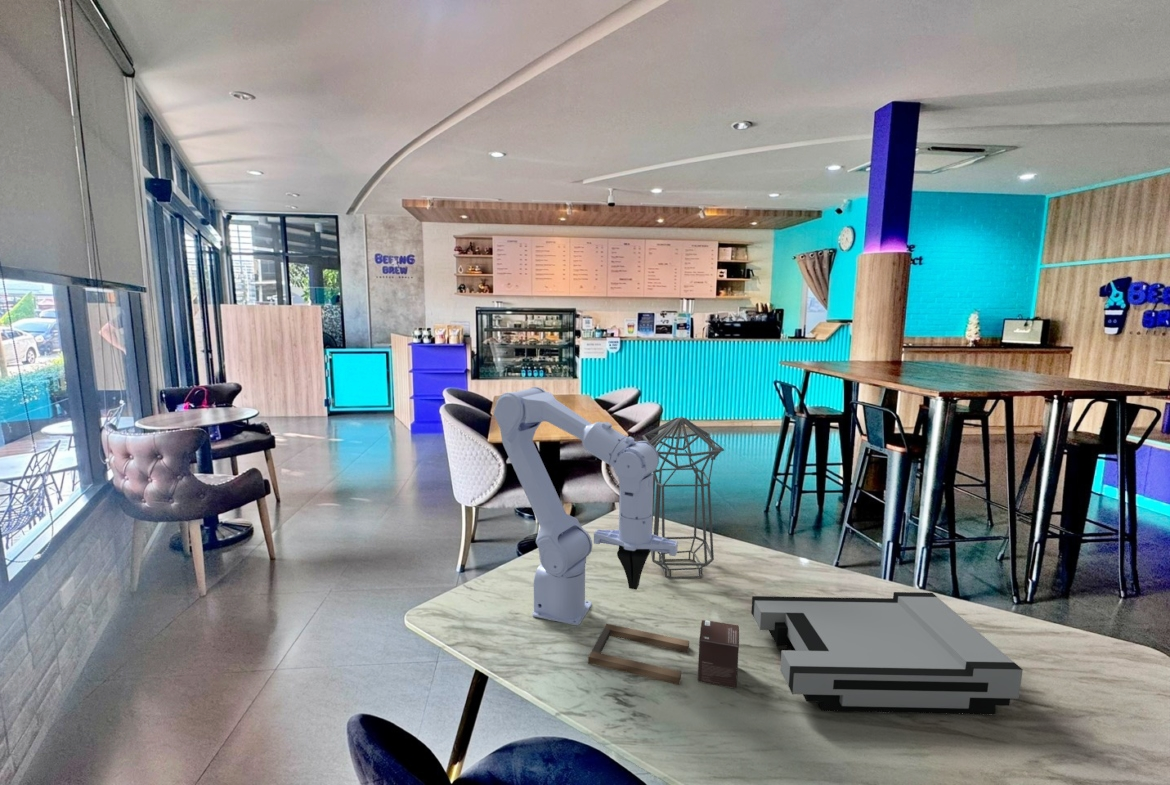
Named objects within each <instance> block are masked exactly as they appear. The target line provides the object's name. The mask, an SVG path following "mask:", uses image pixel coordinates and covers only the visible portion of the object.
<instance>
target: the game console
mask: <svg viewBox="0 0 1170 785" xmlns="http://www.w3.org/2000/svg"><path fill="white" fill-rule="evenodd" d="M751 615H752V618H753V619H754V621H755V623H756V626H757V627H758V629H759V631H768V632H769V634H770V636H771V638H772V640H773V642H774V644H775V645H776V647H786V648H787V650H785V649H784V650H783V649H782V650H781V652H780V653H781V654H780V655H781V656H780V667H779V668H780V670H779V671H780V673H781V674H782V676H783V678H784V680H785V682H786V684H787V686H788V688H789V690H790V692H791V694H792V695H802V696H803V698H804V700H805V701H806V702H807V703H818V705H819V707H820V708H821V711H822V712H833V713H834V712H839V713H841V712H842V713H844V712H845V713H847V712H848V713H883V712H884V713H885V712H886V713H885V714H887V713H888V712H889V713H892V714H893V713H894V714H898V713H899V714H931V715H933V714H936V715H939V714H943V715H945V714H946V713H947V714H946V715H948V714H949V715H982V716H985V715H987V714H988V715H989V714H992V715H991V716H995V715H996V708H997V706H1007V707H1008V706H1010V703H1011V699H1019V696H1020V691H1021V684H1022V677H1023V671H1024V670H1023V668H1022V667H1021V666H1020V665H1018V664H1017V663H1016V662H1015V661H1014V660H1012V659H1011V658H1010V657H1009V656H1007V655H1006V654H1005V653H1004V652H1003V651H1002V650H1000V649H999V648H998V647H997V646H996V645H994V644H993V643H992V642H991V641H990V640H989V639H988V638H987V637H985V636H984V635H982V634H981V632H979V631H978V630H977V629H976V628H974V627H973V626H972V625H971V624H970V623H969V622H968V621H967V620H965V619H964V618H963V617H961V615H959V614H958V613H957V612H956V611H955V610H953V609H952V608H951V607H950V606H948V604H947V603H945V602H944V601H943V600H942V599H941V598H940V597H938V596H937V595H936V594H934V593H933V592H919V591H918V592H917V591H916V592H915V591H911V592H910V591H907V592H905V591H902V592H901V591H894V592H893V597H892V598H891V597H890V598H889V597H887V598H886V597H881V598H879V597H838V596H836V597H833V596H832V597H827V596H826V597H825V596H821V597H820V596H773V595H772V596H765V595H764V596H763V595H752V596H751ZM889 713H888V714H889ZM959 713H960V714H959ZM962 713H963V714H962ZM983 714H984V715H983ZM994 714H995V715H994ZM989 716H990V715H989Z"/></svg>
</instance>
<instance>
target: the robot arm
mask: <svg viewBox="0 0 1170 785" xmlns="http://www.w3.org/2000/svg"><path fill="white" fill-rule="evenodd" d="M493 416H494V419H495V420H496V422H497V425H498V427H499V429H500V436H501V437H500V438H501V442H502V445H503V448H504V450H505V452H506V454H507V456H508V459H509V460H510V463H511V465H512V467H513V470H514V472H515V474H516V476H517V479H518V481H519V483H520V485H521V487H522V490H523V491H524V494H525V495H526V498H527V500H528V503H529V505H530V507H531V509H532V511H533V513H534V515H535V517H536V520H537V522H538V525H539V530H538V533H537V536H536V538H535V544H536V546H537V548H538V553H539V560H540V561H539V562H540V564H539V565H538V567H537V568H536V571H535V574H534V579H533V612H532V614H531V615H532V617H535V618H538V619H539V618H540V619H543V620H544V619H545V620H549V621H554V622H559V623H563V624H567V625H568V624H569V625H573V626H579V625H580V624H581V623H582V621H583V619H584V618H585V616H586V614H587V613H588V611H589V610H590V609H591V607H592V606H593V602H591V601H590V600H589V601H588V600H586V564H587V557H588V556H589V555H590V554H591V552H592V551H593V544H595V545H600V544H606V545H612V546H618V550H617V552H616V554H617V555H616V556H617V558H618V560H619V562H620V563H621V566H622V568H623V570H624V573H625V576H626V579H627V585H628V589H629V590H637V589H638V588H639V586H640V581H641V576H642V573H643V569H644V566H645V564H646V562H647V560H648V557H649V555H650V554H651V551H655V553H658V552H660V553H661V552H662V553H668V554H667V555H669V556H671V557H676V556H677V554H678V553H677V551H678V544H679V542H678V540H674V539H666V538H663V537H662V536H659V535H658V536H656V535H654V533H653V525H652V508H653V472H654V471H655V470H656V469H658V466H659V465H660V464H659V463H660V457H659V455H658V452H659V451H658V452H657V448H654V447H653V446H654V445H650V444H649V442H647V441H644V440H639V441H635V438H634V437H632V436H626V435H624V434H623V433H621V432H620V431H618V430H616V429H614V428H613V424H612V423H610V422H608V421H604V422H602V421H596V422H594V423H591V422H590V421H589V420H587V419H585V418H584V417H583V416H581V415H580V414H578V413H576V412H575V411H573V410H572V409H571V408H570V407H568V406H566V405H564V404H563V403H562V402H560V401H559V400H557V399H556V398H555V396H554V395H553V393H551V392H549V391H546V390H544V389H543V388H541V387H539V386H533V387H530V388H527V389H523V390H518V391H512V392H503V393H502V394H501V395H500V396H499V397H498V398H497V401H496V404H495V406H494V410H493ZM543 422H547V423H549V424H550V425H553V426H555V427H557V428H559V429H560V430H562V431H564V432H566V433H568V434H570V435H572V436H573V437H576V438H578V439H579V440H581V444H582V448H583V449H584V450H585V451H586V452H588V453H590V454H591V455H593V456H594V457H595V458H597V459H599V460H601V461H602V462H604V463H606V464H608V466H611V467H612V468H613V471H614V473H615V475H616V476H617V479H618V481H619V482H618V485H619V486H618V487H619V495H618V496H619V497H618V498H619V499H618V500H619V502H618V503H619V504H618V505H619V506H618V529H598V528H597V529H596V530H595V532H593V540H592V538H591V536H590V534H589V533H588V532H587V530H585V529H584V527H583V526H582V525H581V524H580V521H579V519H577V518H576V517H574V516H572V515H570V514H568V513H567V512H566V510H565V507H564V505H563V504H562V502H561V499H560V497H559V495H558V493H557V491H556V488H555V486H554V484H553V481H552V480H551V477H550V474H549V473H548V471H547V469H546V467H545V465H544V462H543V460H542V458H541V456H540V454H539V452H538V449H537V448H536V445H535V442H534V436H535V434H536V431H537V429H538V428H539V427H540V425H541V424H542V423H543ZM653 509H654V508H653Z"/></svg>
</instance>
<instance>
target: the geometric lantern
mask: <svg viewBox="0 0 1170 785" xmlns="http://www.w3.org/2000/svg"><path fill="white" fill-rule="evenodd" d="M686 427H687V428H689V430H691V431H692V432H693V433H690V434H687V429H686ZM661 430H662V431H661ZM659 431H660V432H659ZM677 431H678V432H677ZM682 431H683V434H684V435H682V436H681V432H682ZM657 432H659V433H657ZM655 433H657V434H655ZM676 434H677V436H676ZM647 436H648V437H649V438H651V440H649V439H648V438H647ZM690 437H694V438H692V440H690V441H689V438H690ZM641 438H642V439H643V440H642V441H647V442H649V444H650V445H652V446H653V447H654V448H655V449H656V451H657V452H658V455H659V459H661V460H662V463H661V465H660V467H659V469H658V468H656V470H655V471H654V472H652V474H653V508H652V526H653V535H656V536H659V529H660V528H659V527H660V514H661V537H663V538H666V539H669V540H692V543H691V546H690V550H681V551H680V550H679V551H678V550H677V554H682V553H683V554H684V553H688V558H666V555H669V554H668V553H662V552H657V554H658V560H656V552H655V551H651V552H650V555H651V556H650V557H651V562H652V563H654V564H656V565H658V567H660V568H661V570H662V572H663V575H664V577H665V578H669V579H695V578H696V579H699V578H700V579H701V578H702V577H703V572H704V571H703V568H705V567H707V566H709V565H710V564H711V563H712V562H713V561H714V560H715V557H714V541H713V540H714V538H713V518H712V502H711V501H712V500H711V499H712V498H711V484H712V483H711V478H712V477H711V476H712V470H713V464H714V461H715V460H716V457H718V456H719V454H720V453H721V452H724V451H725V449H724V447H722V446H720V444H719V443H717V442H716V441H715V440H713V439H712V437H711V435H710V433H709V432H707V431H706V430H703V429H702V428H700V427H699V426H697V425H696V424H695V423H692V422H691V421H690V420H689V418H686V417H684V416H683V417H682V416H680V417H675V418H672V419H671V420H669V421H667V422H665V423H663V424H661V425H659V426H658V427H656V428H654V429H652V430H650V431H649V432H646V433H644V434H643V435H641ZM699 438H700V440H702V441H703V442H704V443H705V444H706V445H707V446H708V447H707V448H708V450H707V451H701V452H694V453H692V451H691V447H690V446H691V445H692V444H694V442H695V441H697V439H699ZM668 439H670V440H671V443H670V445H669V444H668V443H666V441H667V440H668ZM681 439H683V444H682V447H679V446H680V441H681ZM663 440H664V441H663ZM674 440H676V442H675V443H676V444H675V447H674ZM659 444H661V445H660V446H659V447H658V445H659ZM663 446H665V447H667V448H668V450H667V451H660V450H661V449H662V447H663ZM657 447H658V449H657ZM686 449H687V450H686ZM671 450H673V451H671ZM674 450H675V451H674ZM678 451H684V452H678ZM663 455H665V457H664V456H663ZM670 455H671V456H672V455H674V460H675V463H673V462H672V461H671V460H669V459H668V456H670ZM703 455H705V456H703ZM695 456H696V457H697V456H703V457H702V458H699V459H697V460H696V461H694V460H693V458H692V457H695ZM678 457H688V461H689V464H683V465H679V464H678ZM710 460H711V463H710V469H709V475H708V476H707V474H706V473H705V469H706V467H707V465H708V463H709V461H710ZM703 461H705V462H704V464H703V466H702V468H701V469H699V468H698V466H697V464H699V463H701V462H703ZM665 463H668V464H669V465H670V466H673V468H663V467H664V465H665ZM688 470H689V471H691V470H692V471H693V472H694V474H695V475H694V478H695V479H694V480H695V481H694V484H667V483H668V481H669V480H670V479H671V477H673V475H674V474H675V473H676V472H677V471H688ZM663 471H672V472H671V474H669V476H668V478H667V479H666V480H665V481H664V483H663V484H662V477H663V476H662V474H663V473H662V472H663ZM657 473H659V475H658V476H659V477H658V476H657ZM699 473H700V475H699ZM704 477H705V479H706V481H707V483H705V482H704ZM698 482H699V483H698ZM667 487H669V488H670V487H671V488H674V487H676V488H677V487H680V488H681V487H694V516H693V517H694V523H693V536H666V533H665V527H666V526H665V524H666V522H665V488H667ZM698 487H700V491H701V492H700V494H701V498H700V499H701V513H702V514H701V515H702V516H701V517H702V534H703V535H702V536H703V538H701V537H699V536H697V528H698V527H697V525H698V523H697V521H698V520H697V519H698V517H697V516H698ZM705 487H707V488H706V489H707V504H708V505H707V506H708V522H709V543H710V546H709V545H708V542H707V527H706V524H707V523H706V505H705V504H706V503H705ZM654 504H655V505H654ZM654 506H655V507H654ZM660 508H661V510H660ZM660 511H661V513H660ZM695 540H697V541H700V542H701V544H699V545H698V547H696V548H695V550H694V551H693V548H694V543H695ZM702 546H703V554H704V556H703V557H704V562H700V560H699V558H698V556H697V555H696V553H697V552H698V551H699V550H700V548H701V547H702ZM691 554H692V558H691ZM708 555H709V557H710V559H709V560H708ZM670 561H671V562H670ZM672 561H673V562H672ZM675 561H690V562H675ZM669 566H679V568H670V567H669ZM680 566H687V567H680ZM688 566H691V567H688ZM692 566H693V567H692ZM695 566H696V567H695ZM690 570H691V571H693V570H697V571H698V575H680V576H679V575H676V576H674V575H673V576H672V571H690ZM668 571H669V575H668Z"/></svg>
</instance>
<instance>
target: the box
mask: <svg viewBox="0 0 1170 785" xmlns="http://www.w3.org/2000/svg"><path fill="white" fill-rule="evenodd" d="M700 625H701V626H700V629H699V630H700V631H699V632H700V634H699V641H698V643H699V644H698V661H697V662H698V663H697V664H698V665H697V668H698V669H697V682H698V683H703V684H708V685H713V686H719V687H724V688H729V689H730V688H731V689H737V688H738V670H739V669H738V668H739V652H740V651H739V650H740V626H739V624H732V623H725V622H721V621H719V622H718V621H713V620H707V619H706V620H705V619H702V620H701V624H700Z"/></svg>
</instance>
